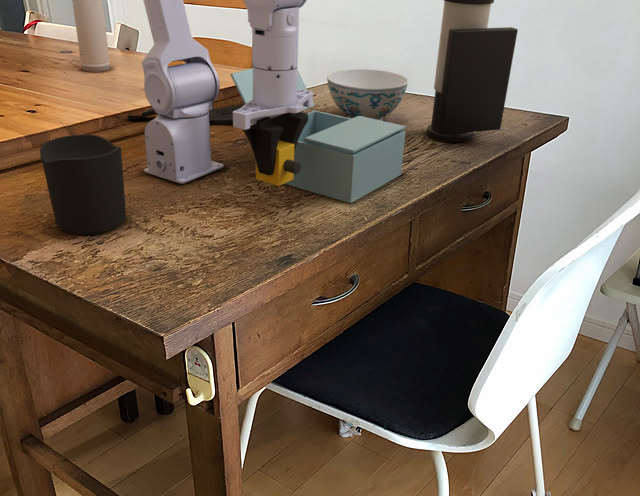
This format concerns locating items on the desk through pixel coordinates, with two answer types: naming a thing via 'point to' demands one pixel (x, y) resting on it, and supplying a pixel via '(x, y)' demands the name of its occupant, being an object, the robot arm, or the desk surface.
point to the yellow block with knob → (282, 165)
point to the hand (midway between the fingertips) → (274, 169)
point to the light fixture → (470, 72)
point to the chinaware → (366, 92)
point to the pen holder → (85, 183)
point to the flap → (245, 84)
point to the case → (347, 155)
